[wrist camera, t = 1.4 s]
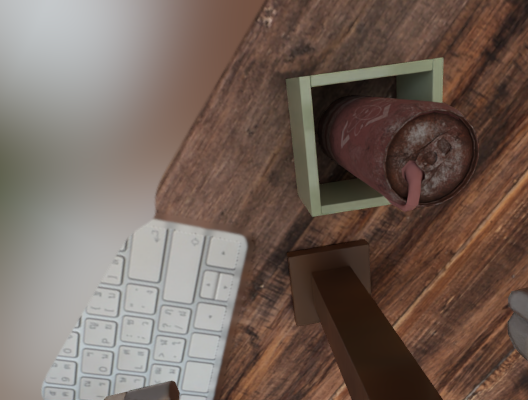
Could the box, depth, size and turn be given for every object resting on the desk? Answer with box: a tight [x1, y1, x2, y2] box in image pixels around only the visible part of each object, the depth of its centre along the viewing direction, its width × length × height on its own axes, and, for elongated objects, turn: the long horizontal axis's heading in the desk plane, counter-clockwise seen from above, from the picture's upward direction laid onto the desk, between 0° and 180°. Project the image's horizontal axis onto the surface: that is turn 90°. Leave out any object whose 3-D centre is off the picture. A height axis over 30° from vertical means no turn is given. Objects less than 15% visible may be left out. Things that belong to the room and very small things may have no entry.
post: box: [287, 240, 443, 400], centre depth 25 cm, size 8×8×27 cm
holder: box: [286, 58, 443, 217], centre depth 30 cm, size 11×11×6 cm
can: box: [318, 95, 479, 211], centre depth 26 cm, size 6×6×14 cm
